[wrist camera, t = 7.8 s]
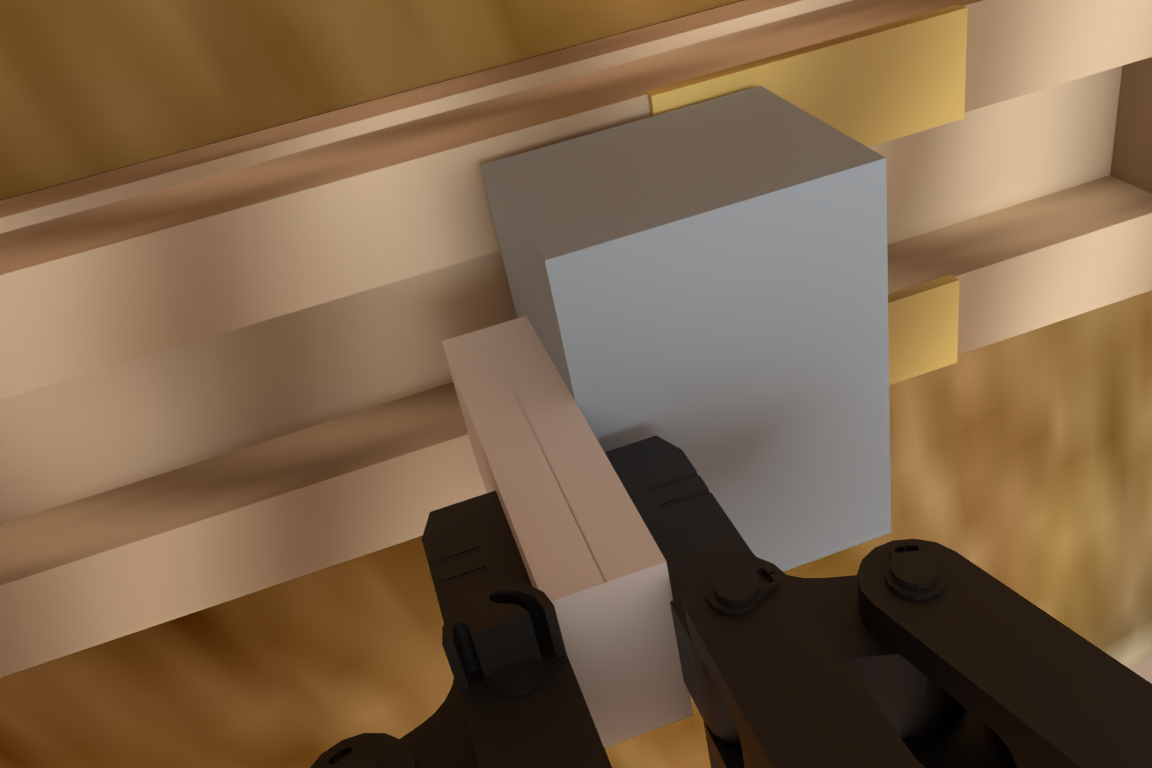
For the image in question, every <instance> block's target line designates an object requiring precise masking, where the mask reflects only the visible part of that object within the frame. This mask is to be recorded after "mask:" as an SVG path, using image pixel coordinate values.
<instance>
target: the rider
mask: <svg viewBox="0 0 1152 768" xmlns="http://www.w3.org/2000/svg"><path fill="white" fill-rule="evenodd" d="M480 167H481V171H482V175H483V179H484V183H485V188H486V192H487V196H488V200H489V204H490V208H491V212H492V216H493V221H494V225H495V229H496V233H497V237H498V241H499V245H500V249H501V254H502V258H503V262H504V266H505V270H506V274H507V278H508V282H509V287H510V291H511V295H512V299H513V303H514V307H515V311H516V315H517V318H520V317H524V316H527V318H528V320H529V322H530V323H531V325H532V327H533V329H534V330H535V332H536V334H537V335H538V337H539V339H540V341H541V342H542V344H543V346H544V348H545V349H546V351H547V353H548V355H549V356H550V358H551V360H552V362H553V363H554V365H555V367H556V368H557V370H558V372H559V374H560V375H561V377H562V379H563V381H564V382H565V384H566V386H567V388H568V389H569V391H570V393H571V394H572V396H573V398H574V400H575V401H576V403H577V405H578V407H579V408H580V410H581V412H582V414H583V416H584V417H585V419H586V421H587V423H588V424H589V426H590V428H591V430H592V431H593V433H594V435H595V437H596V438H597V440H598V442H599V444H600V445H601V447H602V449H603V451H604V452H607V451H610V450H613V449H616V448H619V447H622V446H625V445H628V444H631V443H634V442H638V441H641V440H644V439H647V438H650V437H653V436H656V435H657V436H658V437H660V438H662V439H664V440H666V441H667V442H669V443H671V444H673V445H674V446H676V447H678V448H680V449H682V450H683V452H684V453H685V455H686V456H687V458H688V459H689V461H690V462H691V463H692V465H693V466H694V468H695V469H696V471H697V474H698V475H700V477H701V478H702V480H703V481H704V482H705V484H706V485H707V487H708V489H709V492H710V493H712V494H713V496H714V497H715V499H716V500H717V501H718V503H719V504H720V506H721V507H722V509H723V510H724V512H725V513H726V515H727V516H728V517H729V519H730V520H731V522H732V523H733V525H734V526H735V528H736V529H737V531H738V532H739V534H740V535H741V536H742V538H743V539H744V541H745V542H746V544H747V545H748V547H749V548H750V550H751V551H752V553H753V554H754V555H755V556H756V557H758V558H760V559H763V560H766V561H768V562H771V563H773V564H775V565H776V566H777V567H778V568H779V569H780V570H781V571H782V572H783V571H786V570H789V569H792V568H795V567H797V566H800V565H803V564H806V563H808V562H811V561H814V560H817V559H819V558H822V557H825V556H828V555H830V554H833V553H836V552H839V551H842V550H844V549H847V548H850V547H853V546H855V545H858V544H861V543H864V542H866V541H869V540H872V539H875V538H877V537H880V536H883V535H886V534H888V533H891V479H890V405H889V330H888V255H887V181H886V158H885V157H884V156H882V155H880V154H879V153H877V152H875V151H873V150H872V149H870V148H868V147H866V146H865V145H863V144H861V143H859V142H858V141H856V140H854V139H852V138H851V137H849V136H847V135H845V134H844V133H842V132H840V131H838V130H837V129H835V128H833V127H831V126H830V125H828V124H826V123H824V122H823V121H821V120H819V119H818V118H816V117H814V116H812V115H811V114H809V113H807V112H805V111H804V110H802V109H800V108H798V107H797V106H795V105H793V104H791V103H790V102H788V101H786V100H784V99H783V98H781V97H779V96H777V95H776V94H774V93H772V92H770V91H769V90H767V89H765V88H763V87H762V86H758V87H754V88H751V89H747V90H744V91H740V92H737V93H733V94H730V95H726V96H723V97H719V98H716V99H712V100H709V101H705V102H701V103H698V104H694V105H691V106H687V107H684V108H680V109H677V110H673V111H670V112H666V113H663V114H659V115H656V116H652V117H649V118H645V119H641V120H638V121H634V122H631V123H627V124H624V125H620V126H617V127H613V128H610V129H606V130H603V131H599V132H596V133H592V134H589V135H585V136H581V137H578V138H574V139H571V140H567V141H564V142H560V143H557V144H553V145H550V146H546V147H543V148H539V149H536V150H532V151H529V152H525V153H521V154H518V155H514V156H511V157H507V158H504V159H500V160H497V161H493V162H490V163H486V164H483V165H480Z"/></svg>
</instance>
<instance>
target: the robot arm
mask: <svg viewBox="0 0 1152 768" xmlns="http://www.w3.org/2000/svg"><path fill="white" fill-rule="evenodd" d="M442 345H443V348H444V352H445V355H446V359H447V362H448V365H449V369H450V372H451V376H452V379H453V383H454V386H455V390H456V393H457V397H458V400H459V403H460V407H461V410H462V414H463V417H464V421H465V424H466V428H467V431H468V435H469V438H470V441H471V445H472V448H473V452H474V455H475V459H476V462H477V466H478V469H479V472H480V475H481V477H482V480H483V483H484V485H485V488H486V491H487V493H486V494H483V495H480V496H477V497H474V498H471V499H468V500H465V501H462V502H459V503H456V504H453V505H450V506H446V507H443V508H440V509H437V510H434V511H431V512H430V513H429V517H428V520H427V523H426V526H425V530H424V533H423V536H422V541H423V545H424V549H425V552H426V556H427V560H428V564H429V567H430V571H431V575H432V579H433V583H434V586H435V590H436V594H437V598H438V602H439V605H440V609H441V613H442V617H443V621H444V626H443V636H442V645H443V647H444V650H445V653H446V656H447V659H448V661H449V664H450V667H451V670H452V673H453V675H454V680H453V685H452V688H451V690H450V692H449V694H448V696H447V698H446V700H445V701H444V702H443V704H442V705H441V706H440V707H439V709H438V710H437V711H436V712H435V713H434V714H433V715H432V716H431V717H430V718H428V719H427V720H426V721H425V722H424V723H422V724H421V725H420V726H418V727H417V728H415V729H414V730H413V731H411V732H410V733H408V734H407V735H405V736H404V737H402V738H401V739H397V738H395V737H393V736H390V735H388V734H386V733H363V734H360V735H357V736H354V737H351V738H348V739H345V740H342V741H340V742H339V743H337V744H336V745H334V746H333V747H331V748H330V749H328V750H327V751H325V752H324V753H322V754H321V756H320V757H319V758H318V759H317V760H316V761H315V763H314V764H313V765H312V766H311V767H310V768H612V767H611V764H610V761H609V759H608V756H607V754H606V751H605V749H604V748H606V747H609V746H612V745H614V744H617V743H620V742H622V741H625V740H628V739H630V738H633V737H636V736H638V735H641V734H644V733H647V732H649V731H652V730H655V729H657V728H660V727H663V726H665V725H668V724H671V723H673V722H676V721H679V720H681V719H684V718H687V717H689V716H692V715H693V712H692V706H691V700H690V694H691V696H692V698H693V700H694V702H695V704H696V706H697V708H698V710H699V712H700V714H701V716H702V718H703V721H704V727H705V733H706V740H707V746H708V752H709V758H710V764H711V768H1152V684H1151V683H1149V682H1148V681H1146V680H1145V679H1143V678H1142V677H1141V676H1139V675H1137V674H1136V673H1135V672H1133V671H1132V670H1130V669H1129V668H1127V667H1126V666H1124V665H1123V664H1121V663H1120V662H1118V661H1117V660H1115V659H1114V658H1112V657H1111V656H1109V655H1108V654H1106V653H1105V652H1103V651H1102V650H1101V649H1099V648H1098V647H1096V646H1095V645H1093V644H1092V643H1090V642H1089V641H1087V640H1086V639H1084V638H1083V637H1081V636H1080V635H1078V634H1077V633H1075V632H1074V631H1072V630H1071V629H1069V628H1068V627H1066V626H1065V625H1064V624H1062V623H1061V622H1059V621H1058V620H1056V619H1055V618H1053V617H1052V616H1050V615H1049V614H1047V613H1046V612H1044V611H1043V610H1041V609H1040V608H1038V607H1037V606H1035V605H1034V604H1032V603H1031V602H1029V601H1028V600H1027V599H1025V598H1024V597H1022V596H1021V595H1019V594H1018V593H1016V592H1015V591H1013V590H1012V589H1010V588H1009V587H1007V586H1006V585H1004V584H1003V583H1001V582H1000V581H998V580H997V579H995V578H994V577H992V576H991V575H989V574H988V573H987V572H985V571H984V570H982V569H981V568H979V567H978V566H976V565H975V564H973V563H972V562H970V561H969V560H967V559H966V558H964V557H963V556H961V555H960V554H958V553H957V552H955V551H953V550H951V549H949V548H947V547H945V546H943V545H941V544H938V543H936V542H930V541H924V540H919V539H907V540H896V541H891V542H889V543H886V544H884V545H881V546H879V547H876V548H874V549H873V550H872V551H871V552H870V553H869V554H868V555H867V556H866V557H865V558H863V559H862V562H861V565H860V568H859V571H858V573H857V575H855V576H843V577H831V578H800V577H794V576H789V575H786V574H785V573H783V572H782V571H781V570H780V569H779V568H778V567H777V566H776V565H775V564H773V563H771V562H768V561H766V560H763V559H760V558H758V557H756V556H755V555H754V554H753V553H752V551H751V550H750V548H749V547H748V545H747V544H746V542H745V541H744V539H743V538H742V536H741V535H740V534H739V532H738V531H737V529H736V528H735V526H734V525H733V523H732V522H731V520H730V519H729V517H728V516H727V515H726V513H725V512H724V510H723V509H722V507H721V506H720V504H719V503H718V501H717V500H716V499H715V497H714V496H713V494H712V493H710V492H709V489H708V487H707V485H706V484H705V482H704V481H703V480H702V478H701V477H700V475H698V474H697V471H696V469H695V468H694V466H693V465H692V463H691V462H690V461H689V459H688V458H687V456H686V455H685V453H684V452H683V450H682V449H680V448H678V447H676V446H674V445H673V444H671V443H669V442H667V441H666V440H664V439H662V438H660V437H658V436H657V435H656V436H653V437H650V438H647V439H644V440H641V441H638V442H634V443H631V444H628V445H625V446H622V447H619V448H616V449H613V450H610V451H607V452H604V451H603V449H602V447H601V445H600V444H599V442H598V440H597V438H596V437H595V435H594V433H593V431H592V430H591V428H590V426H589V424H588V423H587V421H586V419H585V417H584V416H583V414H582V412H581V410H580V408H579V407H578V405H577V403H576V401H575V400H574V398H573V396H572V394H571V393H570V391H569V389H568V388H567V386H566V384H565V382H564V381H563V379H562V377H561V375H560V374H559V372H558V370H557V368H556V367H555V365H554V363H553V362H552V360H551V358H550V356H549V355H548V353H547V351H546V349H545V348H544V346H543V344H542V342H541V341H540V339H539V337H538V335H537V334H536V332H535V330H534V329H533V327H532V325H531V323H530V322H529V320H528V318H527V316H524V317H520V318H517V319H514V320H510V321H507V322H504V323H500V324H497V325H494V326H491V327H487V328H484V329H481V330H477V331H474V332H471V333H467V334H464V335H461V336H458V337H454V338H451V339H448V340H444V341H442ZM689 693H690V694H689Z"/></svg>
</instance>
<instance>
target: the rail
mask: <svg viewBox="0 0 1152 768" xmlns="http://www.w3.org/2000/svg"><path fill="white" fill-rule="evenodd" d="M758 86H762V87H763V88H765V89H767V90H769V91H770V92H772V93H774V94H776V95H777V96H779V97H781V98H783V99H784V100H786V101H788V102H790V103H791V104H793V105H795V106H797V107H798V108H800V109H802V110H804V111H805V112H807V113H809V114H811V115H812V116H814V117H816V118H818V119H819V120H821V121H823V122H824V123H826V124H828V125H830V126H831V127H833V128H835V129H837V130H838V131H840V132H842V133H844V134H845V135H847V136H849V137H851V138H852V139H854V140H856V141H858V142H859V143H861V144H863V145H865V146H866V147H868V148H870V149H872V150H873V151H875V152H877V153H879V154H880V155H882V156H884V157H885V158H886V181H887V255H888V330H889V385H892V384H895V383H898V382H901V381H904V380H907V379H910V378H913V377H916V376H919V375H922V374H924V373H927V372H930V371H933V370H936V369H939V368H942V367H945V366H948V365H951V364H954V363H957V355H960V354H963V353H966V352H969V351H972V350H975V349H978V348H981V347H984V346H987V345H990V344H993V343H996V342H999V341H1002V340H1005V339H1008V338H1011V337H1014V336H1017V335H1020V334H1023V333H1026V332H1029V331H1032V330H1035V329H1038V328H1040V327H1043V326H1046V325H1049V324H1052V323H1055V322H1058V321H1061V320H1064V319H1067V318H1070V317H1073V316H1076V315H1079V314H1082V313H1085V312H1088V311H1091V310H1094V309H1097V308H1100V307H1103V306H1106V305H1109V304H1112V303H1115V302H1118V301H1121V300H1124V299H1127V298H1130V297H1133V296H1136V295H1138V294H1141V293H1144V292H1147V291H1150V290H1152V0H744V1H741V2H737V3H733V4H729V5H726V6H722V7H718V8H715V9H711V10H707V11H703V12H700V13H696V14H692V15H689V16H685V17H681V18H677V19H674V20H670V21H666V22H663V23H659V24H655V25H651V26H648V27H644V28H640V29H637V30H633V31H629V32H625V33H622V34H618V35H614V36H610V37H607V38H603V39H599V40H596V41H592V42H588V43H584V44H581V45H577V46H573V47H570V48H566V49H562V50H558V51H555V52H551V53H547V54H544V55H540V56H536V57H532V58H529V59H525V60H521V61H518V62H514V63H510V64H506V65H503V66H499V67H495V68H492V69H488V70H484V71H480V72H477V73H473V74H469V75H466V76H462V77H458V78H454V79H451V80H447V81H443V82H440V83H436V84H432V85H428V86H425V87H421V88H417V89H414V90H410V91H406V92H402V93H399V94H395V95H391V96H388V97H384V98H380V99H376V100H373V101H369V102H365V103H362V104H358V105H354V106H350V107H347V108H343V109H339V110H335V111H332V112H328V113H324V114H321V115H317V116H313V117H309V118H306V119H302V120H298V121H295V122H291V123H287V124H283V125H280V126H276V127H272V128H269V129H265V130H261V131H257V132H254V133H250V134H246V135H243V136H239V137H235V138H231V139H228V140H224V141H220V142H217V143H213V144H209V145H205V146H202V147H198V148H194V149H191V150H187V151H183V152H179V153H176V154H172V155H168V156H165V157H161V158H157V159H153V160H150V161H146V162H142V163H139V164H135V165H131V166H127V167H124V168H120V169H116V170H113V171H109V172H105V173H101V174H98V175H94V176H90V177H86V178H83V179H79V180H75V181H72V182H68V183H64V184H60V185H57V186H53V187H49V188H46V189H42V190H38V191H34V192H31V193H27V194H23V195H20V196H16V197H12V198H8V199H5V200H1V201H0V678H1V677H4V676H7V675H10V674H13V673H16V672H19V671H22V670H25V669H28V668H31V667H34V666H37V665H40V664H43V663H46V662H49V661H51V660H54V659H57V658H60V657H63V656H66V655H69V654H72V653H75V652H78V651H81V650H84V649H87V648H90V647H93V646H96V645H99V644H102V643H105V642H108V641H111V640H114V639H117V638H120V637H123V636H126V635H129V634H132V633H135V632H138V631H141V630H144V629H147V628H149V627H152V626H155V625H158V624H161V623H164V622H167V621H170V620H173V619H176V618H179V617H182V616H185V615H188V614H191V613H194V612H197V611H200V610H203V609H206V608H209V607H212V606H215V605H218V604H221V603H224V602H227V601H230V600H233V599H236V598H239V597H242V596H245V595H248V594H250V593H253V592H256V591H259V590H262V589H265V588H268V587H271V586H274V585H277V584H280V583H283V582H286V581H289V580H292V579H295V578H298V577H301V576H304V575H307V574H310V573H313V572H316V571H319V570H322V569H325V568H328V567H331V566H334V565H337V564H340V563H343V562H346V561H348V560H351V559H354V558H357V557H360V556H363V555H366V554H369V553H372V552H375V551H378V550H381V549H384V548H387V547H390V546H393V545H396V544H399V543H402V542H405V541H408V540H411V539H414V538H417V537H420V536H423V533H424V530H425V526H426V523H427V520H428V517H429V513H430V512H431V511H434V510H437V509H440V508H443V507H446V506H450V505H453V504H456V503H459V502H462V501H465V500H468V499H471V498H474V497H477V496H480V495H483V494H486V493H487V491H486V488H485V485H484V483H483V480H482V477H481V475H480V472H479V469H478V466H477V462H476V459H475V455H474V452H473V448H472V445H471V441H470V438H469V435H468V431H467V428H466V424H465V421H464V417H463V414H462V410H461V407H460V403H459V400H458V397H457V393H456V390H455V386H454V383H453V379H452V376H451V372H450V369H449V365H448V362H447V359H446V355H445V352H444V348H443V345H442V341H444V340H448V339H451V338H454V337H458V336H461V335H464V334H467V333H471V332H474V331H477V330H481V329H484V328H487V327H491V326H494V325H497V324H500V323H504V322H507V321H510V320H514V319H517V315H516V311H515V307H514V303H513V299H512V295H511V291H510V287H509V282H508V278H507V274H506V270H505V266H504V262H503V258H502V254H501V249H500V245H499V241H498V237H497V233H496V229H495V225H494V221H493V216H492V212H491V208H490V204H489V200H488V196H487V192H486V188H485V183H484V179H483V175H482V171H481V167H480V165H483V164H486V163H490V162H493V161H497V160H500V159H504V158H507V157H511V156H514V155H518V154H521V153H525V152H529V151H532V150H536V149H539V148H543V147H546V146H550V145H553V144H557V143H560V142H564V141H567V140H571V139H574V138H578V137H581V136H585V135H589V134H592V133H596V132H599V131H603V130H606V129H610V128H613V127H617V126H620V125H624V124H627V123H631V122H634V121H638V120H641V119H645V118H649V117H652V116H656V115H659V114H663V113H666V112H670V111H673V110H677V109H680V108H684V107H687V106H691V105H694V104H698V103H701V102H705V101H709V100H712V99H716V98H719V97H723V96H726V95H730V94H733V93H737V92H740V91H744V90H747V89H751V88H754V87H758Z"/></svg>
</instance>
